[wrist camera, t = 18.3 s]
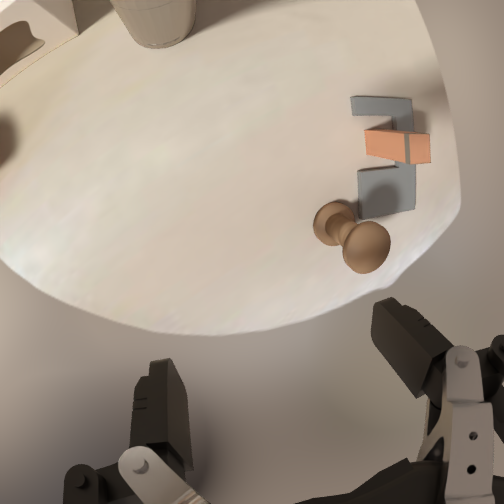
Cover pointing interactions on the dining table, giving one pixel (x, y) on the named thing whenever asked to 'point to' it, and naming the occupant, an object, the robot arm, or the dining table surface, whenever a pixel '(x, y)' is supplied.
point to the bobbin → (352, 237)
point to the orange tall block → (399, 145)
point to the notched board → (386, 179)
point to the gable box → (32, 32)
